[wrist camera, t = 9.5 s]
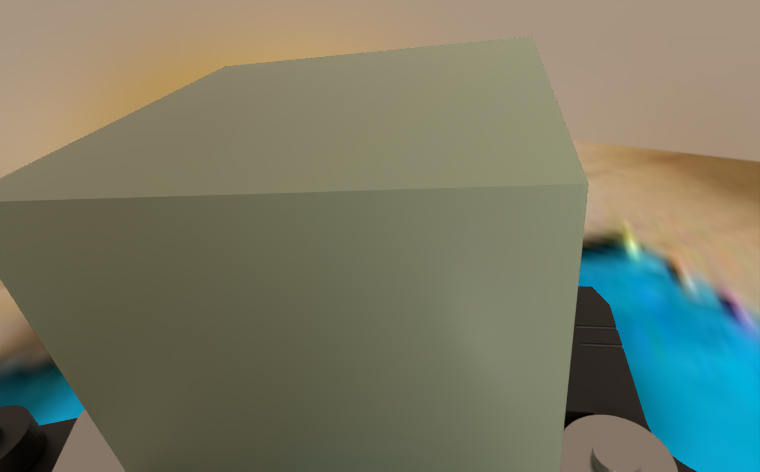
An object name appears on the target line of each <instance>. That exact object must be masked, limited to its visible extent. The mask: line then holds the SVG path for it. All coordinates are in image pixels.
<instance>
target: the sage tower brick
mask: <svg viewBox="0 0 760 472" xmlns="http://www.w3.org/2000/svg"><path fill="white" fill-rule="evenodd" d="M587 193H588V181H587V179H586V176H585V173H584V171H583V168H582V166H581V163H580V160H579V158H578V155H577V152H576V150H575V147H574V145H573V142H572V139H571V137H570V134H569V131H568V129H567V126H566V124H565V121H564V119H563V116H562V113H561V111H560V108H559V105H558V103H557V100H556V98H555V95H554V92H553V90H552V87H551V85H550V82H549V79H548V76H547V74H546V71H545V69H544V66H543V64H542V61H541V58H540V55H539V53H538V50H537V48H536V45H535V43H534V40H533V37H532V36H528V37H518V38H510V39H509V38H508V39H498V40H488V41H478V42H468V43H458V44H448V45H438V46H427V47H417V48H407V49H397V50H387V51H378V52H367V53H357V54H347V55H336V56H326V57H316V58H306V59H296V60H286V61H276V62H266V63H256V64H246V65H236V66H225V67H223V68H221V69H219V70H217V71H215V72H213V73H211V74H209V75H207V76H205V77H203V78H201V79H199V80H197V81H195V82H193V83H191V84H189V85H187V86H185V87H183V88H181V89H179V90H177V91H175V92H173V93H171V94H169V95H167V96H165V97H163V98H161V99H159V100H157V101H155V102H153V103H151V104H149V105H147V106H145V107H143V108H141V109H139V110H137V111H135V112H133V113H131V114H129V115H127V116H125V117H123V118H121V119H119V120H117V121H115V122H113V123H111V124H109V125H107V126H105V127H103V128H101V129H99V130H97V131H95V132H93V133H91V134H89V135H87V136H85V137H83V138H81V139H79V140H76V141H75V142H72V143H70V144H68V145H66V146H64V147H63V148H60V149H58V150H56V151H54V152H53V153H50V154H49V155H46V156H44V157H42V158H41V159H38V160H36V161H34V162H32V163H30V164H28V165H27V166H24V167H22V168H20V169H18V170H16V171H14V172H12V173H10V174H8V175H6V176H4V177H2V178H0V279H1V280H2V282H3V284H4V285H5V287H6V288H7V290H8V291H9V293H10V295H11V296H12V298H13V299H14V301H15V302H16V304H17V305H18V307H19V308H20V310H21V311H22V313H23V315H24V316H25V318H26V319H27V321H28V322H29V324H30V325H31V327H32V328H33V330H34V331H35V333H36V334H37V336H38V338H39V339H40V341H41V342H42V344H43V345H44V347H45V348H46V350H47V351H48V353H49V354H50V356H51V358H52V359H53V361H54V362H55V364H56V365H57V367H58V368H59V370H60V371H61V373H62V374H63V376H64V377H65V379H66V381H67V382H68V384H69V385H70V387H71V388H72V390H73V391H74V393H75V394H76V396H77V397H78V399H79V401H80V402H81V404H82V405H83V407H84V408H85V410H86V411H87V413H88V414H89V416H90V417H91V419H92V421H93V422H94V424H95V425H96V427H97V428H98V430H99V431H100V433H101V434H102V436H103V437H104V439H105V440H106V442H107V444H108V445H109V447H110V448H111V450H112V451H113V453H114V454H115V456H116V457H117V459H118V460H119V462H120V464H121V465H122V467H123V468H124V470H125V471H126V472H559V470H560V461H561V451H562V441H563V431H564V421H565V411H566V401H567V391H568V381H569V371H570V361H571V352H572V342H573V332H574V322H575V312H576V302H577V292H578V282H579V272H580V262H581V252H582V243H583V233H584V223H585V213H586V203H587Z"/></svg>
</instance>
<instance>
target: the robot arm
mask: <svg viewBox="0 0 760 472" xmlns="http://www.w3.org/2000/svg"><path fill="white" fill-rule="evenodd" d="M0 472H126V471H125V470H124V468H123V467H122V465H121V464H120V462H119V460H118V459H117V457H116V456H115V454H114V453H113V451H112V450H111V448H110V447H109V445H108V444H107V442H106V440H105V439H104V437H103V436H102V434H101V433H100V431H99V430H98V428H97V427H96V425H95V424H94V422H93V421H92V419H91V417H90V416H89V414H88V413H87V411H86V410H85V409H84V411H83V412H82V413H81V414H80V416H79V417H78V418H75V419H70V420H65V421H60V422H55V423H51V424H46V425H41V426H39V425H38V423H37V422H36V421H35V419H34V418H33V417H32V415H31V414H30V413H29V411H28V410H27V409H26V408H24V407H21V406H14V405H13V406H5V407H0ZM559 472H697V471H695V470H693V469H691V468H689V467H688V466H686V465H685V464H683V463H682V462H680V461H679V460H677V459H676V458H675V457H673V456H672V455H671V454H670V452H669V451H668V449H667V448H666V447H665V445H664V444H663V443H662V442H661V441H660V440H659V439H658V438H657V437H656V436H654V435H653V434H652V432H651V431H650V429H649V427H648V425H647V422H646V420H645V417H644V413H643V410H642V407H641V404H640V401H639V397H638V394H637V391H636V388H635V385H634V381H633V378H632V375H631V372H630V369H629V365H628V362H627V359H626V356H625V353H624V349H622V343H621V340H620V337H619V333H618V330H616V324H615V321H614V317H613V314H612V311H611V308H610V305H609V304H608V303H607V302H606V301H605V300H604V299H603V298H602V297H601V296H600V295H599V294H598V293H597V292H596V290H595V289H594V288H593V287H578V292H577V302H576V312H575V322H574V332H573V342H572V352H571V361H570V371H569V381H568V391H567V401H566V411H565V421H564V431H563V441H562V451H561V461H560V470H559Z"/></svg>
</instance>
